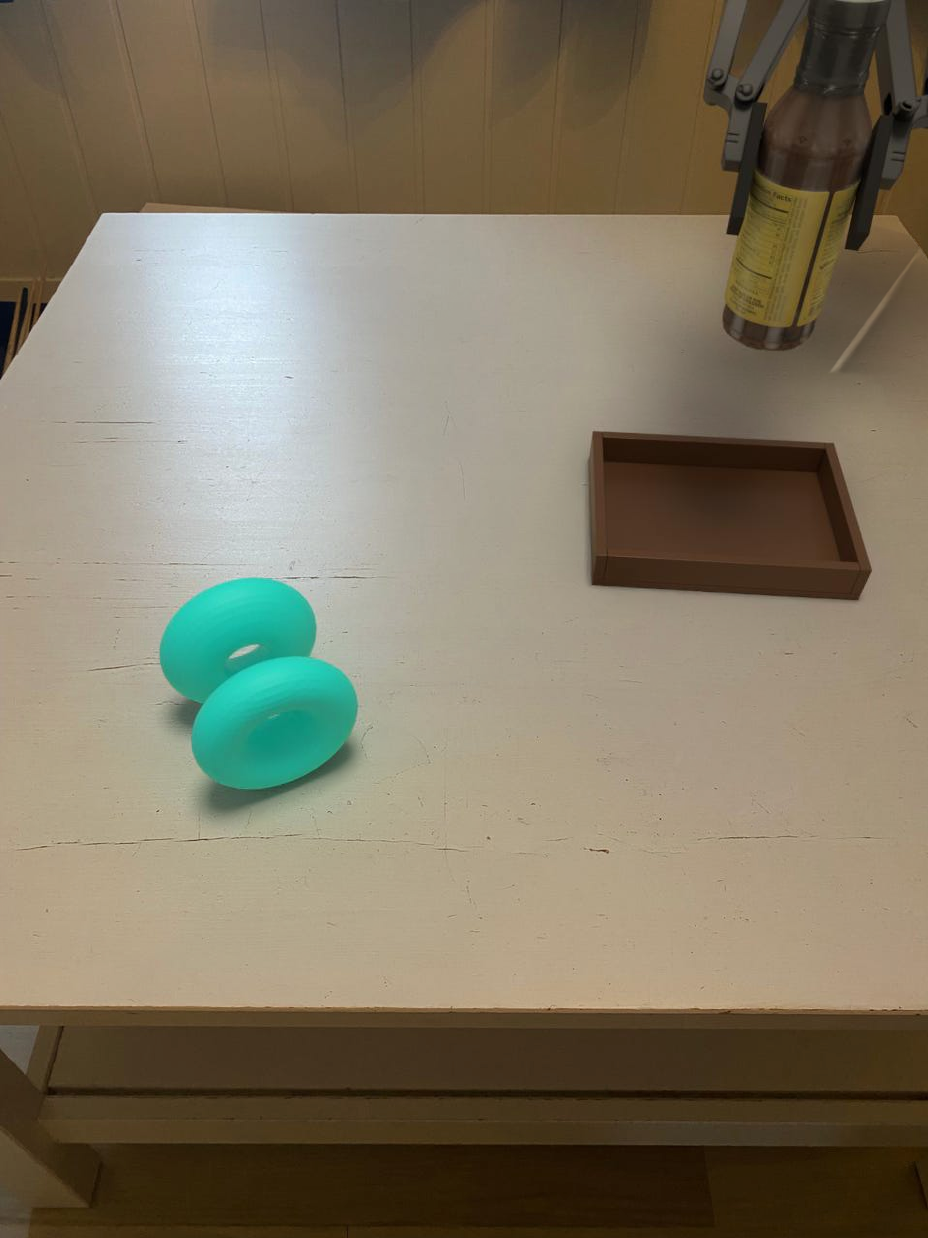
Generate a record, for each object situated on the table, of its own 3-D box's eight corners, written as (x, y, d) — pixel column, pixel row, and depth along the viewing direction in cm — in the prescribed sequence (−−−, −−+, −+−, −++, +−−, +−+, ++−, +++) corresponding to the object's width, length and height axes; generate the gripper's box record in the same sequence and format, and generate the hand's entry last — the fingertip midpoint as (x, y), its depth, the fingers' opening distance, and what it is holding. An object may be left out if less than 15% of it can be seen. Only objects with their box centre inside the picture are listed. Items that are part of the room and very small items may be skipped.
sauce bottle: (788, 301, 66) (890, -35, 51) (826, 351, 62) (950, 2, 47) (701, 308, 65) (779, -31, 50) (734, 360, 61) (830, 8, 46)
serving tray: (822, 472, 79) (834, 442, 77) (858, 600, 70) (872, 570, 67) (588, 460, 80) (592, 430, 78) (591, 584, 70) (596, 555, 68)
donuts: (314, 650, 66) (297, 547, 58) (370, 758, 60) (358, 660, 53) (173, 701, 63) (136, 599, 55) (218, 821, 57) (182, 725, 50)
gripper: (1033, -122, 55) (946, 276, 57) (703, -143, 58) (630, 235, 60) (1096, -229, 48) (994, 232, 50) (714, -247, 51) (631, 188, 53)
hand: (795, 233), depth 55 cm, fingers closed on sauce bottle, 6 cm apart
